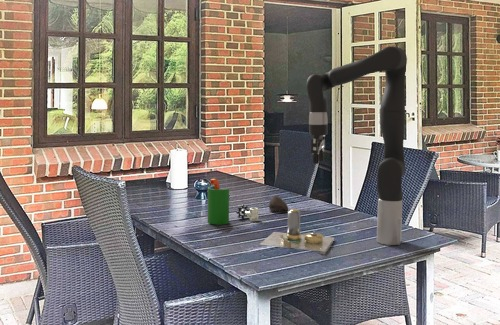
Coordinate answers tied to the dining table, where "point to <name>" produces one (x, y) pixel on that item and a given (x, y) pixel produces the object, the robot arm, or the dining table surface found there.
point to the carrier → (300, 242)
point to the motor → (218, 204)
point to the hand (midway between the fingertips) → (318, 162)
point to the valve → (248, 213)
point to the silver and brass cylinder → (293, 225)
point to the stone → (277, 204)
